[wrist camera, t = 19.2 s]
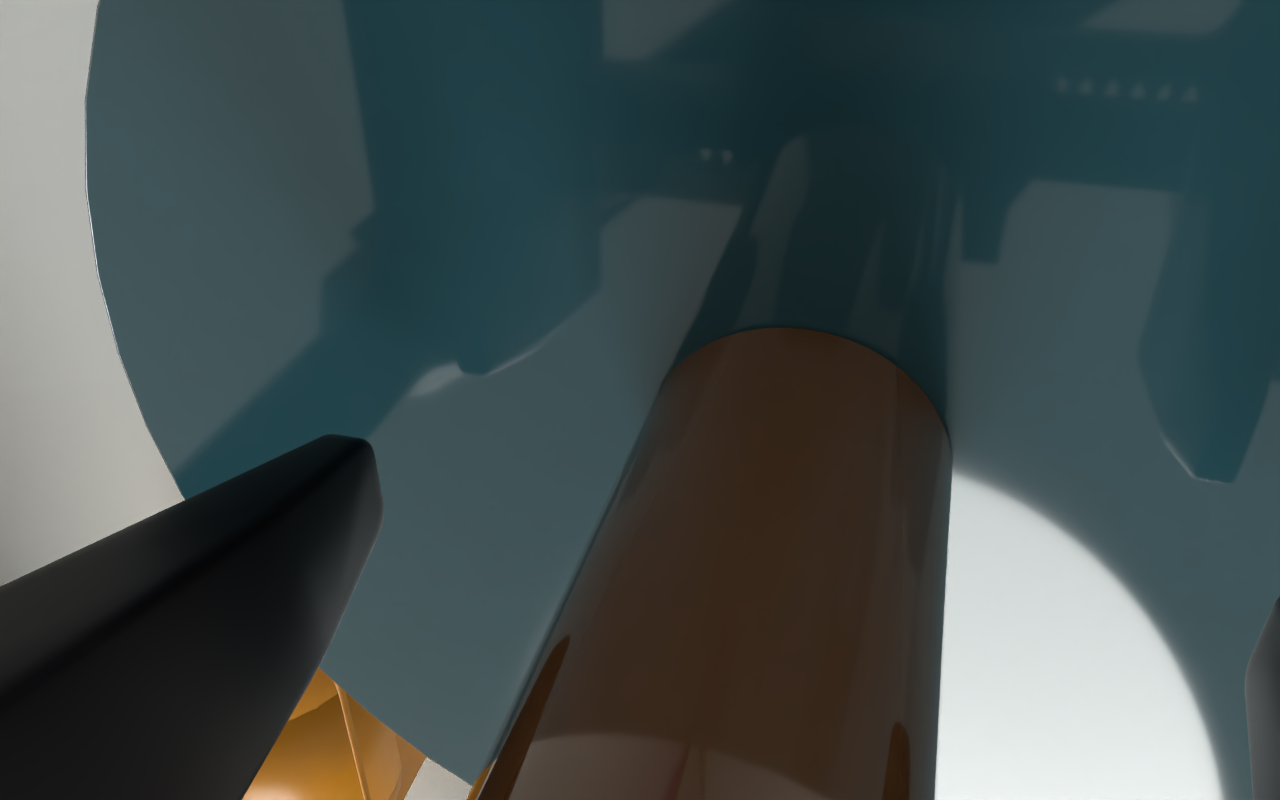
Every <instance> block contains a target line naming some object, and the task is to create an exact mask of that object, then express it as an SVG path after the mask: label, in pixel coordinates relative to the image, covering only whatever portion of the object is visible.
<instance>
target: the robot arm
mask: <svg viewBox="0 0 1280 800" xmlns="http://www.w3.org/2000/svg"><path fill="white" fill-rule="evenodd" d="M383 517H384V503H383V497H382V492H381V486H380V481H379V475H378V470H377V464H376V459H375V454H374V450H373V448H372V446H371V444H370V443H369V442H368V441H366V440H364V439H362V438H356V437H350V436H344V435H337V434H327V435H324V436H321V437H319V438H317V439H315V440H313V441H311V442H309V443H306V444H304V445H302V446H300V447H298V448H296V449H294V450H291V451H289V452H287V453H285V454H283V455H281V456H279V457H276V458H274V459H272V460H270V461H268V462H266V463H264V464H262V465H259V466H257V467H255V468H253V469H251V470H249V471H247V472H244V473H242V474H240V475H238V476H236V477H234V478H232V479H230V480H227V481H225V482H223V483H221V484H219V485H217V486H215V487H212V488H210V489H208V490H206V491H204V492H202V493H200V494H197V495H195V496H193V497H191V498H189V499H187V500H185V501H182V502H180V503H178V504H176V505H174V506H172V507H170V508H168V509H165V510H163V511H161V512H159V513H157V514H155V515H153V516H150V517H148V518H146V519H144V520H142V521H140V522H138V523H135V524H133V525H131V526H129V527H127V528H125V529H123V530H121V531H118V532H116V533H114V534H112V535H110V536H108V537H106V538H103V539H101V540H99V541H97V542H95V543H93V544H91V545H88V546H86V547H84V548H82V549H80V550H78V551H76V552H73V553H71V554H69V555H67V556H65V557H63V558H61V559H59V560H56V561H54V562H52V563H50V564H48V565H46V566H44V567H41V568H39V569H37V570H35V571H33V572H31V573H29V574H26V575H24V576H22V577H20V578H18V579H16V580H14V581H11V582H9V583H7V584H5V585H3V586H1V587H0V800H242V799H243V797H244V795H245V794H246V792H247V790H248V789H249V787H250V785H251V783H252V782H253V780H254V778H255V777H256V775H257V773H258V771H259V770H260V768H261V766H262V765H263V763H264V761H265V759H266V758H267V756H268V754H269V753H270V751H271V749H272V747H273V746H274V744H275V742H276V740H277V739H278V737H279V735H280V734H281V732H282V730H283V728H284V727H285V725H286V723H287V722H288V720H289V718H290V716H291V715H292V713H293V711H294V710H295V708H296V706H297V704H298V703H299V701H300V699H301V698H302V696H303V694H304V692H305V691H306V689H307V687H308V685H309V684H310V682H311V680H312V678H313V677H314V675H315V673H316V671H317V669H318V667H319V666H320V664H321V662H322V660H323V658H324V656H325V654H326V652H327V650H328V647H329V645H330V643H331V641H332V639H333V637H334V634H335V632H336V630H337V628H338V625H339V623H340V621H341V619H342V616H343V614H344V612H345V610H346V607H347V605H348V603H349V600H350V598H351V596H352V594H353V591H354V589H355V587H356V585H357V582H358V580H359V578H360V576H361V573H362V571H363V569H364V567H365V564H366V562H367V560H368V557H369V555H370V553H371V551H372V548H373V546H374V544H375V542H376V539H377V537H378V535H379V532H380V530H381V527H382V523H383ZM1245 699H1246V711H1247V724H1248V736H1249V749H1250V761H1251V774H1252V787H1253V799H1254V800H1280V597H1279V598H1278V599H1277V600H1276V602H1275V604H1274V605H1273V608H1272V610H1271V612H1270V614H1269V617H1268V619H1267V621H1266V623H1265V625H1264V628H1263V630H1262V632H1261V634H1260V637H1259V639H1258V641H1257V643H1256V646H1255V648H1254V650H1253V652H1252V654H1251V657H1250V659H1249V662H1248V665H1247V669H1246V676H1245Z"/></svg>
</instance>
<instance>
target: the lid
mask: <svg viewBox="0 0 1280 800" xmlns="http://www.w3.org/2000/svg"><path fill="white" fill-rule="evenodd" d="M85 179H86V197H87V204H88V212H89V219H90V226H91V233H92V241H93V248H94V255H95V262H96V270H97V276H98V279H99V283H100V287H101V291H102V295H103V298H104V302H105V306H106V310H107V314H108V317H109V321H110V325H111V329H112V333H113V336H114V340H115V344H116V348H117V352H118V355H119V357H120V360H121V362H122V365H123V367H124V370H125V373H126V375H127V378H128V380H129V383H130V385H131V388H132V391H133V393H134V396H135V398H136V401H137V403H138V406H139V409H140V411H141V414H142V416H143V419H144V421H145V424H146V427H147V428H148V430H149V432H150V434H151V436H152V438H153V440H154V442H155V444H156V446H157V448H158V450H159V452H160V454H161V456H162V458H163V459H164V461H165V463H166V465H167V467H168V469H169V471H170V473H171V475H172V477H173V479H174V481H175V483H176V485H177V487H178V489H179V490H180V492H181V494H182V496H183V497H184V499H185V500H187V499H189V498H191V497H193V496H195V495H197V494H200V493H202V492H204V491H206V490H208V489H210V488H212V487H215V486H217V485H219V484H221V483H223V482H225V481H227V480H230V479H232V478H234V477H236V476H238V475H240V474H242V473H244V472H247V471H249V470H251V469H253V468H255V467H257V466H259V465H262V464H264V463H266V462H268V461H270V460H272V459H274V458H276V457H279V456H281V455H283V454H285V453H287V452H289V451H291V450H294V449H296V448H298V447H300V446H302V445H304V444H306V443H309V442H311V441H313V440H315V439H317V438H319V437H321V436H324V435H327V434H337V435H344V436H350V437H356V438H362V439H364V440H366V441H368V442H369V443H370V444H371V446H372V448H373V450H374V454H375V459H376V464H377V470H378V475H379V481H380V486H381V492H382V497H383V503H384V517H383V523H382V527H381V530H380V532H379V535H378V537H377V539H376V542H375V544H374V546H373V548H372V551H371V553H370V555H369V557H368V560H367V562H366V564H365V567H364V569H363V571H362V573H361V576H360V578H359V580H358V582H357V585H356V587H355V589H354V591H353V594H352V596H351V598H350V600H349V603H348V605H347V607H346V610H345V612H344V614H343V616H342V619H341V621H340V623H339V625H338V628H337V630H336V632H335V634H334V637H333V639H332V641H331V643H330V645H329V647H328V650H327V652H326V654H325V656H324V658H323V660H322V662H321V664H320V666H319V667H318V668H319V669H320V670H322V671H323V672H324V673H325V674H326V675H327V676H328V677H329V678H331V679H332V680H333V681H334V682H335V683H336V684H337V685H338V686H339V687H341V688H342V689H343V690H344V691H345V692H346V693H347V694H348V695H349V696H351V697H352V698H353V699H354V700H355V701H356V702H357V703H358V704H360V705H361V706H362V707H363V708H364V709H365V710H366V711H367V712H368V713H370V714H371V715H372V716H374V717H375V718H376V719H378V720H379V721H380V722H381V723H383V724H384V725H385V726H387V727H388V728H389V729H391V730H392V731H393V732H395V733H396V734H397V735H399V736H400V737H401V738H403V739H404V740H405V741H406V742H408V743H409V744H410V745H412V746H413V747H414V748H416V749H417V750H418V751H420V752H421V753H422V754H424V755H425V756H426V757H428V758H429V759H431V760H432V761H434V762H436V763H437V764H439V765H440V766H442V767H443V768H445V769H446V770H448V771H450V772H451V773H453V774H454V775H456V776H457V777H459V778H460V779H462V780H463V781H465V782H467V783H468V784H470V785H471V786H473V787H472V789H471V792H470V794H469V796H468V798H467V800H1254V799H1253V787H1252V774H1251V761H1250V749H1249V736H1248V724H1247V711H1246V699H1245V676H1246V669H1247V665H1248V662H1249V659H1250V657H1251V654H1252V652H1253V650H1254V648H1255V646H1256V643H1257V641H1258V639H1259V637H1260V634H1261V632H1262V630H1263V628H1264V625H1265V623H1266V621H1267V619H1268V617H1269V614H1270V612H1271V610H1272V608H1273V605H1274V604H1275V602H1276V600H1277V599H1278V598H1279V597H1280V0H99V2H98V6H97V12H96V20H95V27H94V35H93V43H92V50H91V58H90V66H89V73H88V81H87V89H86V96H85Z"/></svg>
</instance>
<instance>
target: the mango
mask: <svg viewBox="0 0 1280 800" xmlns="http://www.w3.org/2000/svg"><path fill="white" fill-rule="evenodd" d="M425 758H426V756H425V755H424V754H422V753H421V752H420V751H418V750H417V749H416V748H414V747H413V746H412V745H410V744H409V743H408V742H406V741H405V740H404V739H403V738H401V737H400V736H399V735H397V734H396V733H395V732H393V731H392V730H391V729H389V728H388V727H387V726H385V725H384V724H383V723H381V722H380V721H379V720H378V719H376V718H375V717H374V716H372V715H371V714H370V713H368V712H367V711H366V710H365V709H364V708H363V707H362V706H361V705H360V704H358V703H357V702H356V701H355V700H354V699H353V698H352V697H351V696H349V695H348V694H347V693H346V692H345V691H344V690H343V689H342V688H341V687H339V686H338V685H337V684H336V683H335V682H334V681H333V680H332V679H331V678H329V677H328V676H327V675H326V674H325V673H324V672H323V671H322V670H320V669H319V668H318V669H317V671H316V673H315V675H314V677H313V678H312V680H311V682H310V684H309V685H308V687H307V689H306V691H305V692H304V694H303V696H302V698H301V699H300V701H299V703H298V704H297V706H296V708H295V710H294V711H293V713H292V715H291V716H290V718H289V720H288V722H287V723H286V725H285V727H284V728H283V730H282V732H281V734H280V735H279V737H278V739H277V740H276V742H275V744H274V746H273V747H272V749H271V751H270V753H269V754H268V756H267V758H266V759H265V761H264V763H263V765H262V766H261V768H260V770H259V771H258V773H257V775H256V777H255V778H254V780H253V782H252V783H251V785H250V787H249V789H248V790H247V792H246V794H245V795H244V797H243V799H242V800H404V798H405V796H406V794H407V792H408V790H409V788H410V786H411V785H412V783H413V781H414V779H415V777H416V775H417V773H418V771H419V769H420V767H421V765H422V763H423V762H424V760H425Z"/></svg>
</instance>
